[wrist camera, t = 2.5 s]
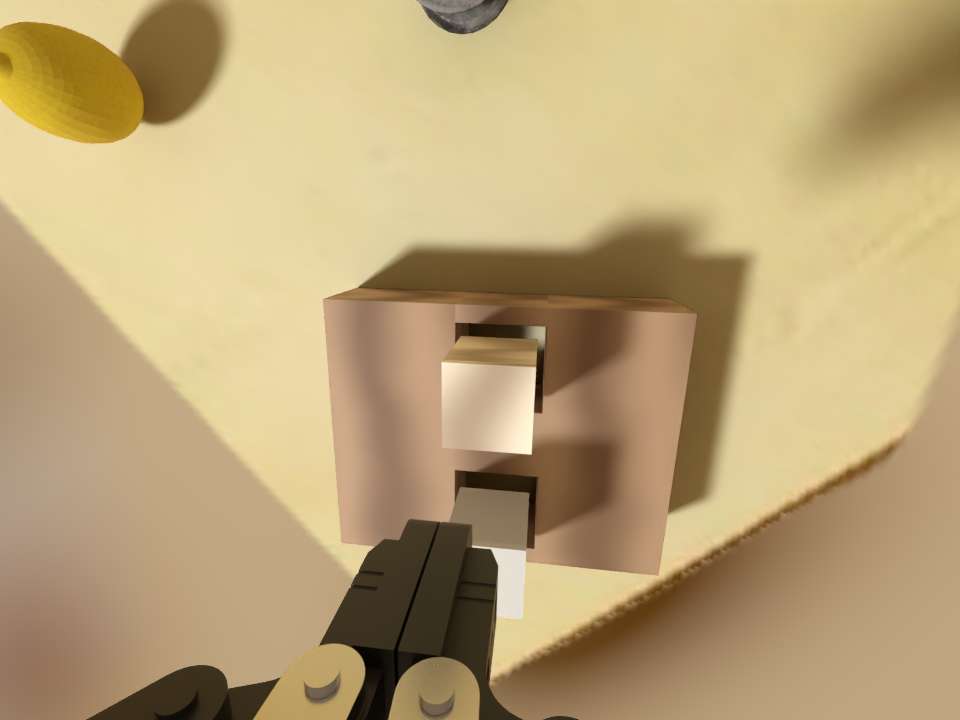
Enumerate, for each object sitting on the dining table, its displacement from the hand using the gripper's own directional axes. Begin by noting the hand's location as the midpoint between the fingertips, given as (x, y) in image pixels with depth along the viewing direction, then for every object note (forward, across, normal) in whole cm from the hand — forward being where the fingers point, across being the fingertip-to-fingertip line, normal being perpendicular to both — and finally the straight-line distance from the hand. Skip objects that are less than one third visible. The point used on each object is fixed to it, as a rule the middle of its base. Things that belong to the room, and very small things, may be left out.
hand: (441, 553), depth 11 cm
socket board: (+20, 0, +5) cm, 21 cm away
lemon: (+21, +24, -14) cm, 35 cm away
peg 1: (+14, 0, 0) cm, 14 cm away
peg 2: (+14, 0, +9) cm, 17 cm away
